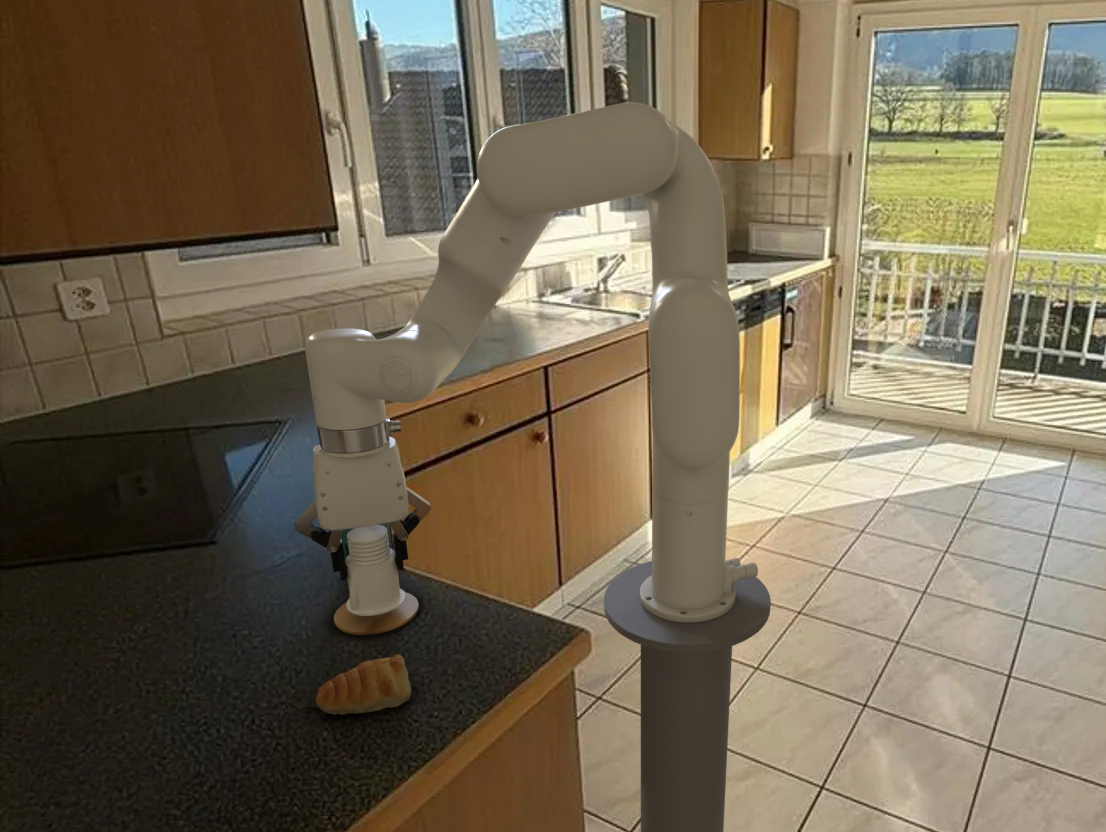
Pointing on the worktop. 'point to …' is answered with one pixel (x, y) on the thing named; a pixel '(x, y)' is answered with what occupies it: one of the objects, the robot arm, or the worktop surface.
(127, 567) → the worktop surface
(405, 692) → the pastry
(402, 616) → the cork coaster
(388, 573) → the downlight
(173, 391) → the worktop surface
